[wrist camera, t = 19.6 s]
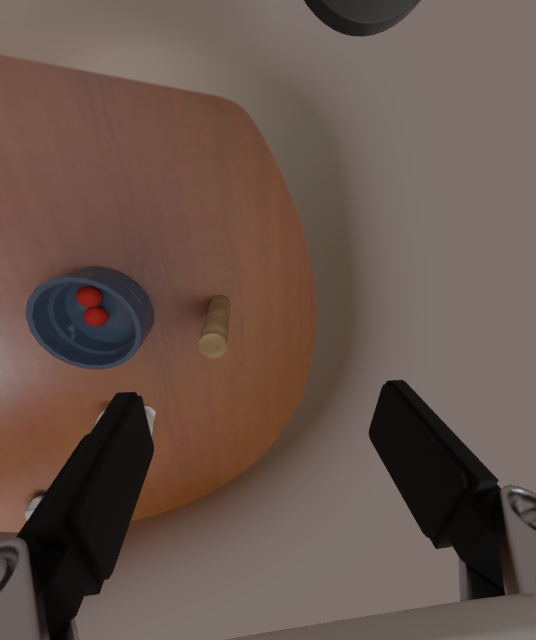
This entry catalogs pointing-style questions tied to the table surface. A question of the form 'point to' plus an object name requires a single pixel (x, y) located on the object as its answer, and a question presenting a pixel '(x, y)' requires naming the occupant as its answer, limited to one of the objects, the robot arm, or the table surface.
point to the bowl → (70, 328)
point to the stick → (215, 328)
